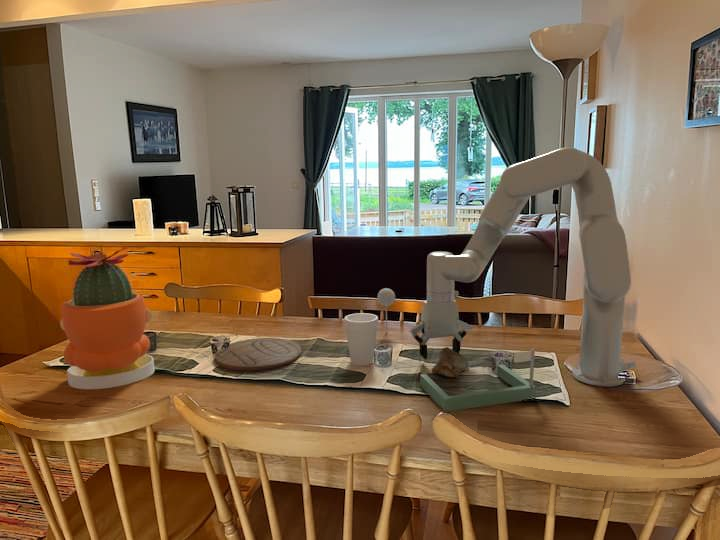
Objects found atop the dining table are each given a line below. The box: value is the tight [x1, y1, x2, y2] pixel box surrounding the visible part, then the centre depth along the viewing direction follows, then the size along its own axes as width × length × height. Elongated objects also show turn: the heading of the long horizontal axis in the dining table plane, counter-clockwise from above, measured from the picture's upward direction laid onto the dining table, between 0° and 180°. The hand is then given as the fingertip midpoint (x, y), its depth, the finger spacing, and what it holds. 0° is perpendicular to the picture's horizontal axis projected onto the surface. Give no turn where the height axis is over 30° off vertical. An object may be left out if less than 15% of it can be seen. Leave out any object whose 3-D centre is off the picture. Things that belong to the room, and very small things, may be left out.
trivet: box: [214, 337, 302, 373], centre depth 162 cm, size 25×25×2 cm
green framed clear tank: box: [419, 348, 537, 412], centre depth 132 cm, size 23×16×12 cm
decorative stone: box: [431, 346, 469, 378], centre depth 147 cm, size 10×4×15 cm
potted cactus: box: [59, 246, 155, 390], centre depth 143 cm, size 22×22×35 cm
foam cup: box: [343, 312, 379, 367], centre depth 154 cm, size 10×9×13 cm
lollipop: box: [376, 287, 396, 333], centre depth 180 cm, size 6×6×15 cm
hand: (439, 355), depth 154 cm, fingers open, 9 cm apart
